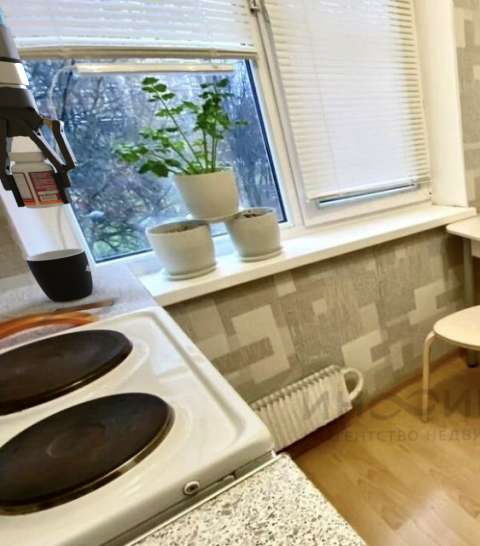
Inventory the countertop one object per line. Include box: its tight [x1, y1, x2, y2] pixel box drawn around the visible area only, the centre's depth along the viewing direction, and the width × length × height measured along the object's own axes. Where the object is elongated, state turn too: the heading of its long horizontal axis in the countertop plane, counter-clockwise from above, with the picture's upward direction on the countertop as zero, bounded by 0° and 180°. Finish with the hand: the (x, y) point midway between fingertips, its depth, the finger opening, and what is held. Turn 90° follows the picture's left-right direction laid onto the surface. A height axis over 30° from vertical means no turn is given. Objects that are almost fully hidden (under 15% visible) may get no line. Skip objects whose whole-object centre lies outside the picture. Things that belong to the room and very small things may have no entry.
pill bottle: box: [8, 150, 66, 209], centre depth 88 cm, size 6×6×11 cm
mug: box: [25, 248, 94, 303], centre depth 94 cm, size 12×9×10 cm
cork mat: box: [49, 299, 115, 317], centre depth 86 cm, size 9×8×1 cm
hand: (46, 204), depth 89 cm, fingers closed on pill bottle, 6 cm apart
